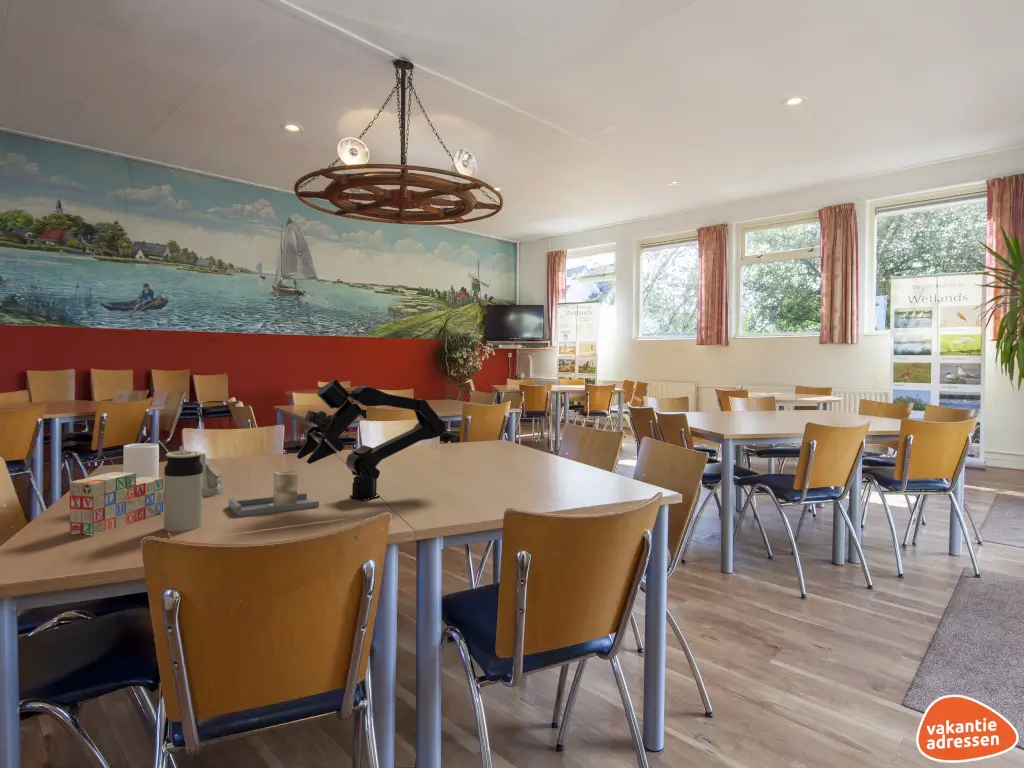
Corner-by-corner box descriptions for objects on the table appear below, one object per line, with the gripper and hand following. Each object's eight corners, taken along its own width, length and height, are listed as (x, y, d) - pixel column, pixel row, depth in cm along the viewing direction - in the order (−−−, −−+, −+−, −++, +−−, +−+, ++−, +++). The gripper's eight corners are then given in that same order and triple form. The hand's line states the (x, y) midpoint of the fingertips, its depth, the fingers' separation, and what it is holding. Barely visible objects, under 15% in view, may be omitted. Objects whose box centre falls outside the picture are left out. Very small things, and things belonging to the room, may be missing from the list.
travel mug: (161, 534, 135) (162, 456, 134) (166, 525, 142) (167, 451, 141) (200, 531, 138) (201, 455, 137) (203, 522, 145) (204, 450, 145)
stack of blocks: (142, 511, 154) (142, 465, 154) (164, 513, 153) (164, 466, 153) (69, 534, 133) (69, 481, 132) (93, 536, 132) (93, 482, 131)
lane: (305, 499, 171) (305, 489, 171) (318, 508, 161) (319, 497, 161) (228, 508, 159) (228, 497, 159) (237, 518, 149) (238, 507, 149)
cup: (133, 499, 166) (134, 442, 166) (164, 499, 167) (164, 443, 166) (116, 506, 158) (116, 447, 157) (148, 506, 159) (149, 447, 158)
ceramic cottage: (213, 497, 170) (213, 445, 170) (156, 498, 169) (156, 446, 170) (237, 489, 185) (237, 441, 186) (185, 490, 185) (185, 442, 185)
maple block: (292, 502, 165) (292, 470, 165) (297, 505, 161) (297, 473, 161) (273, 504, 163) (273, 472, 162) (278, 508, 159) (278, 475, 158)
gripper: (312, 398, 174) (273, 437, 168) (334, 402, 159) (291, 445, 153) (338, 423, 179) (300, 462, 173) (361, 430, 164) (321, 473, 158)
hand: (302, 460), depth 164 cm, fingers open, 9 cm apart
